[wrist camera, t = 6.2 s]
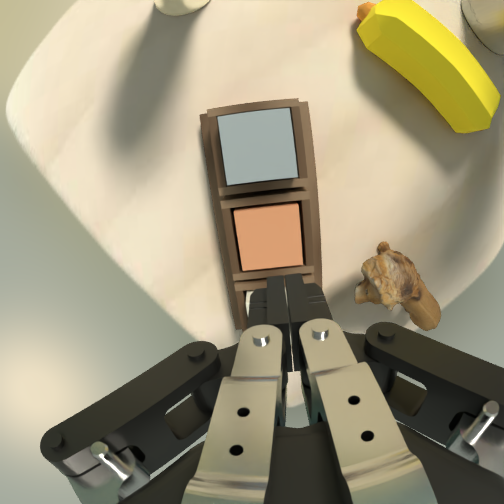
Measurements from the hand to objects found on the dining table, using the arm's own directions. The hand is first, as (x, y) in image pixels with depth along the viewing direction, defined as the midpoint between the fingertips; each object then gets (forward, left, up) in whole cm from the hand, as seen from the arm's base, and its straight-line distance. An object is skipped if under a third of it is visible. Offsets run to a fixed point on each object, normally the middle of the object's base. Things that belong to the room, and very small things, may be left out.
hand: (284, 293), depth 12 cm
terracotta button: (+1, +1, -12) cm, 12 cm away
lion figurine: (-12, +8, -14) cm, 20 cm away
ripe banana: (-17, -14, -15) cm, 27 cm away
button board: (+1, +1, -14) cm, 14 cm away
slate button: (+1, -6, -11) cm, 13 cm away
